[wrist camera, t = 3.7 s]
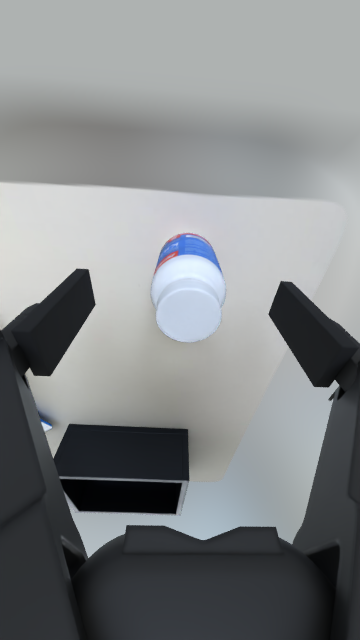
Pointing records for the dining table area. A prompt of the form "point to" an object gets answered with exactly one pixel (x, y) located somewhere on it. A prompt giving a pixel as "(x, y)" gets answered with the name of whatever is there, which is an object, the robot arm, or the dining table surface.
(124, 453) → the basin
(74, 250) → the dining table surface
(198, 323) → the pill bottle
